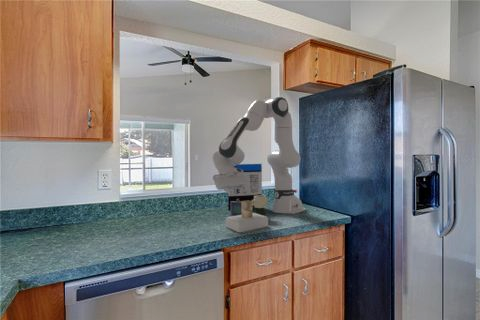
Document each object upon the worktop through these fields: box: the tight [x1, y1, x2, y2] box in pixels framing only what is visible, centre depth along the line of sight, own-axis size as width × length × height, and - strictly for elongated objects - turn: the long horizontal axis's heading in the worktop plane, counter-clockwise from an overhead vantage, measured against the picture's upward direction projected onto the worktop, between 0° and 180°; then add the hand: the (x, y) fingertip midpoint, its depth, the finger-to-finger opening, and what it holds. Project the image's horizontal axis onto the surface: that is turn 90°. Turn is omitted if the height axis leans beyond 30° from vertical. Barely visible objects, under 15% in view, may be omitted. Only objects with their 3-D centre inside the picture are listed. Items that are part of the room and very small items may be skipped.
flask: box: [229, 199, 242, 217], centre depth 159 cm, size 9×3×11 cm, turn 65°
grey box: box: [225, 212, 269, 233], centre depth 138 cm, size 18×12×5 cm, turn 125°
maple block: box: [241, 200, 253, 218], centre depth 138 cm, size 4×4×8 cm
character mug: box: [252, 194, 269, 217], centre depth 154 cm, size 11×7×13 cm, turn 115°
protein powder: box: [227, 163, 263, 211], centre depth 182 cm, size 10×24×30 cm, turn 110°
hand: (238, 193), depth 144 cm, fingers open, 8 cm apart
